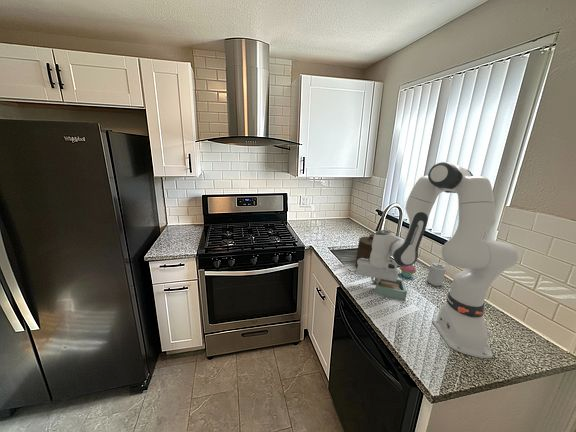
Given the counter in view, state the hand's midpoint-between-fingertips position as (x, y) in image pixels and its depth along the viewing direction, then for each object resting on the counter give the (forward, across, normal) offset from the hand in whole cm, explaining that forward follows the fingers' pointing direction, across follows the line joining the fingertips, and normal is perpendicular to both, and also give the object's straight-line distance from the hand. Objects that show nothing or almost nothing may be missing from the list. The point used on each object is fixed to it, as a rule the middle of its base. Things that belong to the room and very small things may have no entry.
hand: (374, 284), depth 126 cm
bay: (+2, +7, 0) cm, 7 cm away
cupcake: (+2, +19, +21) cm, 28 cm away
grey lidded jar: (+2, +33, +18) cm, 37 cm away
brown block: (+2, +7, 0) cm, 7 cm away
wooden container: (+2, -3, +23) cm, 23 cm away
